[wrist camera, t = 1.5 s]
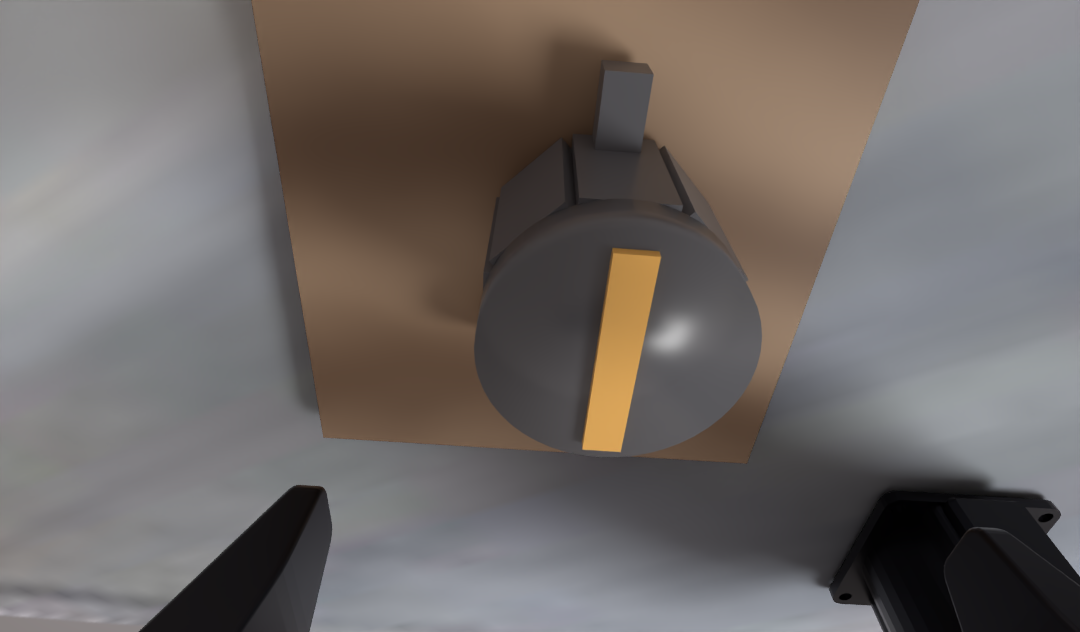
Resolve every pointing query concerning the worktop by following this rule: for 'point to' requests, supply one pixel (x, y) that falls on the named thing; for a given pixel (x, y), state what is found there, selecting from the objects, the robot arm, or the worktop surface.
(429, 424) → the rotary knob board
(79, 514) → the worktop surface
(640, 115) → the grey dial knob
